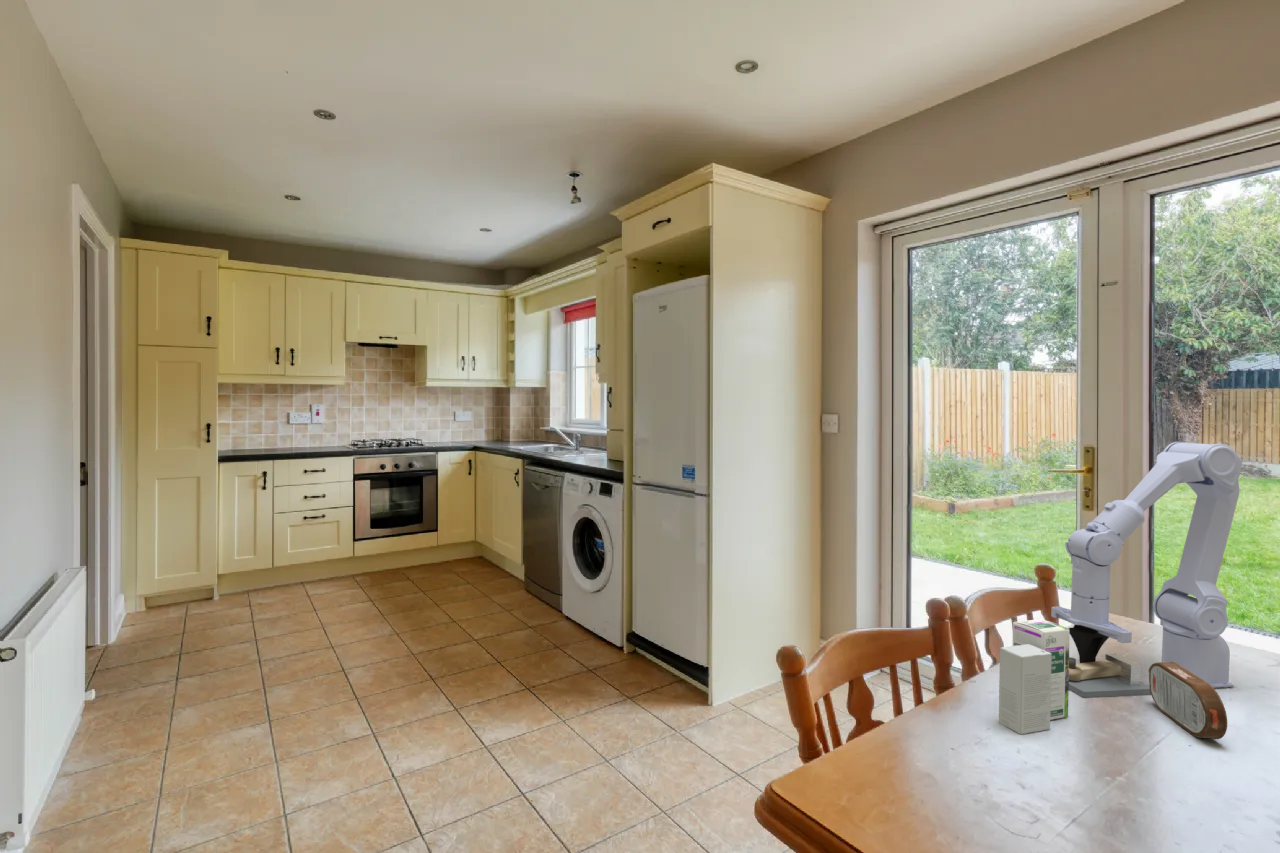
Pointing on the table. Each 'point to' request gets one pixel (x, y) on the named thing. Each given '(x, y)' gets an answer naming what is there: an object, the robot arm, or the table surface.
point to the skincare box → (1025, 688)
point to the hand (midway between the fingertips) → (1087, 667)
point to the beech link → (1092, 669)
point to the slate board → (1106, 687)
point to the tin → (1187, 700)
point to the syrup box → (1057, 644)
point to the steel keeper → (1126, 669)
